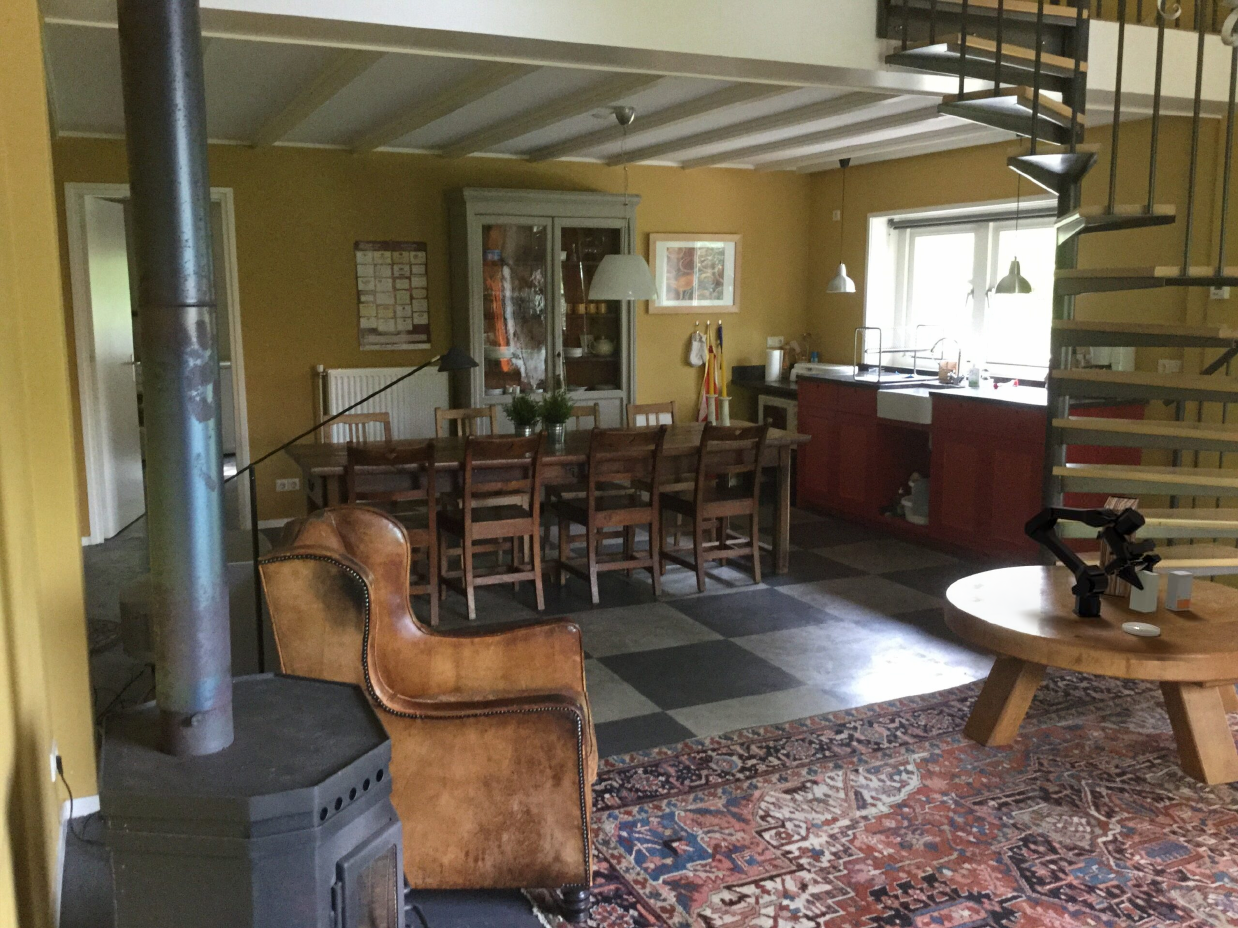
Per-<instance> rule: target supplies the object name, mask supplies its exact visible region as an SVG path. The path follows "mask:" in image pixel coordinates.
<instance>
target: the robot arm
mask: <svg viewBox="0 0 1238 928" xmlns="http://www.w3.org/2000/svg"><path fill="white" fill-rule="evenodd" d="M1059 520H1065V521H1073V522H1080V523H1083V524H1084V525H1086V526H1089V527H1092V528H1094V529H1096V528H1097V529H1098V528H1102V527H1106V528H1105V529H1104V530H1102V529H1101V530H1097V535H1096V537H1095V539H1096V541H1101V539H1104V540H1105V541H1106V543H1107V545H1108V546H1109V548H1110V549H1111V552H1110V555H1111V556H1113V555H1115V557H1116V558H1115V559H1113V560H1112V561H1111V562H1109V563H1108V564H1107V565H1106V566H1104V571H1103V570H1102V569H1101V568H1100V567H1099V564H1090V565H1088V564H1087V563H1086V562H1085V561H1084V560H1083V559H1082V558H1081V557H1079V556H1078V554H1076V552H1074V551H1073V550H1072V549H1071V548H1070V547H1069V546H1068V545H1067V544H1066V543H1065V542H1064V541H1063V540H1062V539H1060V537H1059V536H1058V535H1057V532H1056V528H1055V526H1056V525H1057V524H1058V521H1059ZM1113 524H1114V525H1113ZM1112 525H1113V526H1112ZM1145 525H1146V518H1145V517H1144V515H1143V514H1141V513H1140V512H1139V511H1138V512H1137V511H1135V510H1133V508H1132V507H1127V508H1126V509H1124V511H1123V512H1122V513H1121V514H1117V513H1114V511H1113V510H1112V509H1111V508H1104V507H1101V508H1090V509H1085V508H1076V507H1068V506H1060V505H1056V504H1055V505H1047V506H1045V507H1044V508H1043V509H1042V510H1041V511H1040V512H1039V513H1037V514H1035V515H1034V516H1032V517H1031V519H1029V520H1028V521H1026V522H1025V524H1024V527H1023V528H1024V534H1025V536H1026V537H1027V538H1029V539H1030V540H1032V541H1033V542H1035V543H1039V544H1041V545H1043V546H1044V547H1045V548H1047V550H1049V551H1050V553H1052V554H1053V556H1055V558H1057V559H1058V560H1059V561H1060V562H1061V563H1062V564H1063V566H1065V567H1066V568H1067V569H1068V570H1069V571H1070V572H1071V573H1072V574H1073V575H1074V581H1075V584H1074V585H1073V586H1072V587H1071V588H1070V589H1071V594H1072V595H1073V596H1075V599H1074V601H1075V602H1074V608H1072V609H1071V611H1072V612H1073V613H1075V614H1076V615H1078V616H1079V617H1091V618H1092V617H1095V618H1096V617H1097V618H1100V617H1102V615H1101V610H1102V607H1101V606H1102V600H1101V596H1104V593H1105V590H1106V589H1107V588H1108V586H1109V581H1108V580H1109V578H1108V577H1107V576H1110V575H1114V574H1115V570H1116V569H1117V570H1118V571H1117V572H1118V574H1117V575H1115V576H1116V577H1119V578H1121V579H1123V580H1124V581H1126V582H1128V583H1129V584H1131V585H1133V586H1134V587H1136V588H1137V589H1139V590H1141V591H1142V590H1143V589H1144V587H1143V585H1142V583H1141V581H1140V580H1139V578H1138V576H1137V574H1136V569H1137V570H1138V571H1143V570H1145V571H1149V572H1152V573H1154V570H1153V569H1154V567H1155V566H1156V565H1158V564H1159V563H1160V562H1162V560H1163V559H1162V557H1161V555H1159V553H1153V552H1155V548H1156V547H1157V545H1156V542H1155V541H1154V539H1153V538H1152V537H1150V538H1148V537H1147V538H1145V539H1142V541H1140V542H1136V541H1135V542H1133V541H1131V542H1130V541H1129V540H1128V538H1127V537H1126V535H1128V536H1130V535H1132V534H1133V533H1135V532H1136V533H1137V531H1138V530H1140V529H1141V528H1143V526H1145ZM1145 553H1146V554H1145ZM1147 553H1148V554H1147Z"/></svg>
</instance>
